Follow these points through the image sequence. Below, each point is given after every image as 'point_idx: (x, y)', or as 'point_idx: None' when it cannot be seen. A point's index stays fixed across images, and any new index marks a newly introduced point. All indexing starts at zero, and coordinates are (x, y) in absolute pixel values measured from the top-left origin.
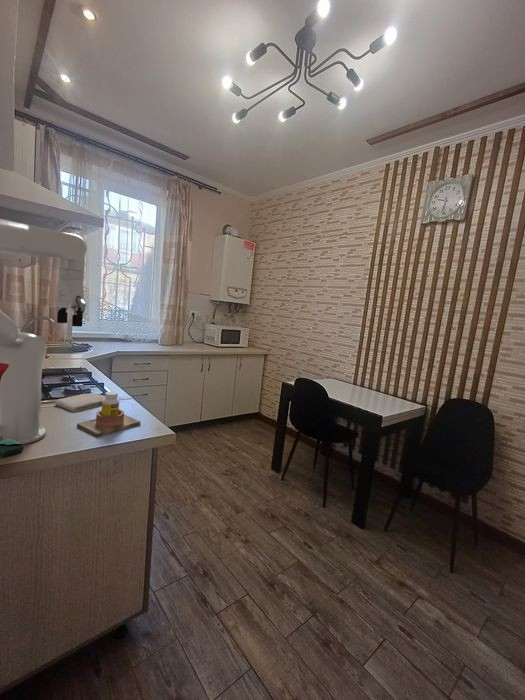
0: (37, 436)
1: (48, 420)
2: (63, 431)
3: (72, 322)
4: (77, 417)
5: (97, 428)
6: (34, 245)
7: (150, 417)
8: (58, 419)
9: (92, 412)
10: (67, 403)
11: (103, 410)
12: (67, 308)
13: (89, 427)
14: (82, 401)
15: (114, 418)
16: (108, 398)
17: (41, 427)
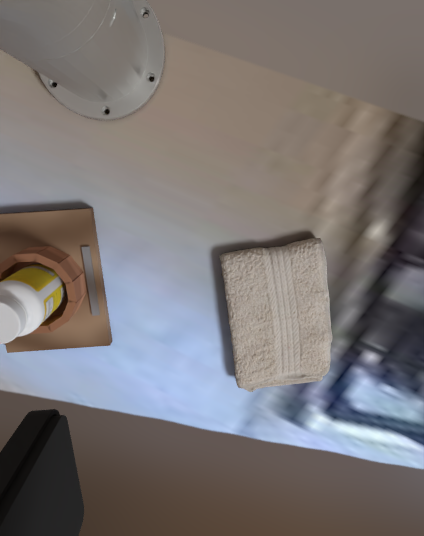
0: (43, 76)
1: (191, 167)
2: (77, 162)
3: (15, 444)
4: (168, 242)
5: (16, 233)
6: None
7: (50, 397)
8: (182, 192)
9: (185, 295)
10: (272, 259)
11: (19, 273)
12: None
13: (35, 220)
14: (257, 302)
15: None
16: None
17: (111, 114)
